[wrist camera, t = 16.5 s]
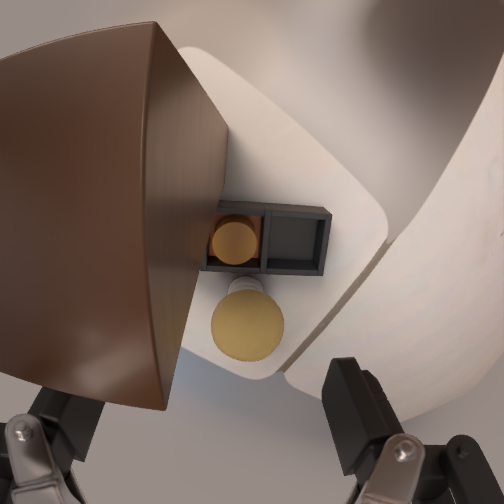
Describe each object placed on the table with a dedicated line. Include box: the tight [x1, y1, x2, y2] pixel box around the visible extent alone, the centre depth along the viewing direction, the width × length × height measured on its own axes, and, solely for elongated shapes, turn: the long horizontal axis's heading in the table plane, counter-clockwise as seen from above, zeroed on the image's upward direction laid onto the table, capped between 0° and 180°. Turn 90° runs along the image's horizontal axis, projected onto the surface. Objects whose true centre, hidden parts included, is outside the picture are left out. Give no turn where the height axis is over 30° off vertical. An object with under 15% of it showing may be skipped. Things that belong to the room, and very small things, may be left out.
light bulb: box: [211, 276, 284, 362], centre depth 28 cm, size 6×6×10 cm
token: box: [212, 214, 257, 265], centre depth 28 cm, size 4×4×3 cm
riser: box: [0, 21, 228, 411], centre depth 15 cm, size 6×6×26 cm
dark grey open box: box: [200, 200, 332, 276], centre depth 29 cm, size 12×6×3 cm, turn 86°
